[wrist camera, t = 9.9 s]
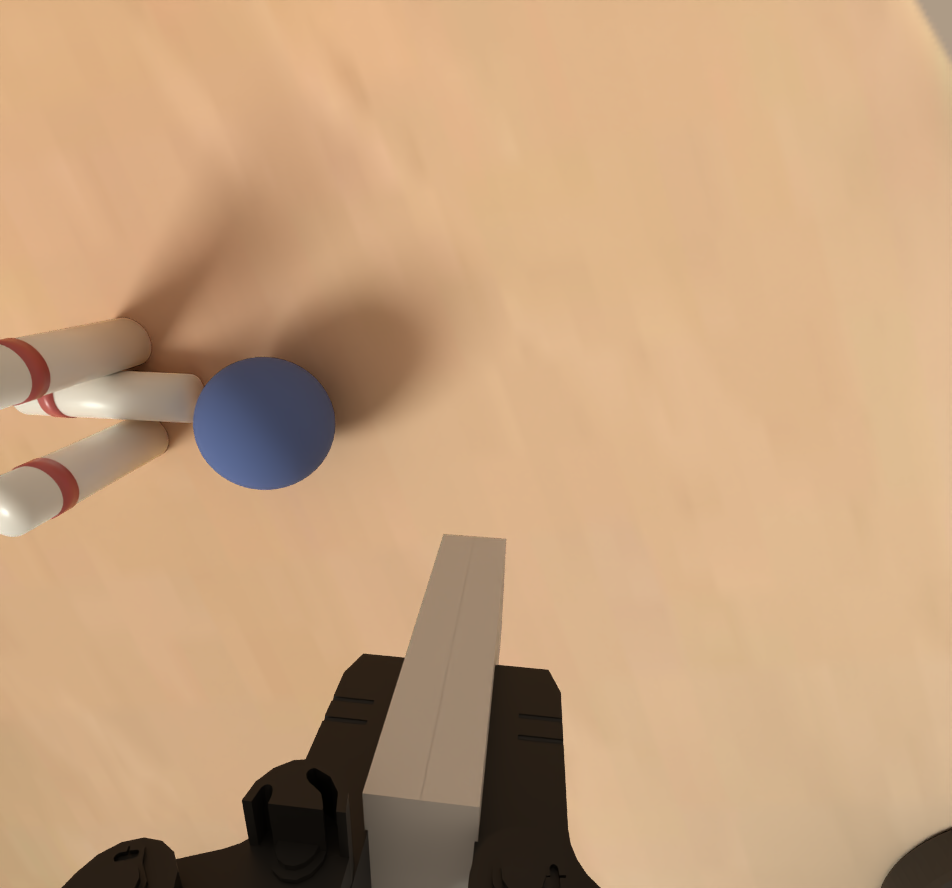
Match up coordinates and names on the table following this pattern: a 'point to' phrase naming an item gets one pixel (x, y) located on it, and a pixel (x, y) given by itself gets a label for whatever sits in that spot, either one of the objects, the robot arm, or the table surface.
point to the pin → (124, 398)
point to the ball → (264, 423)
